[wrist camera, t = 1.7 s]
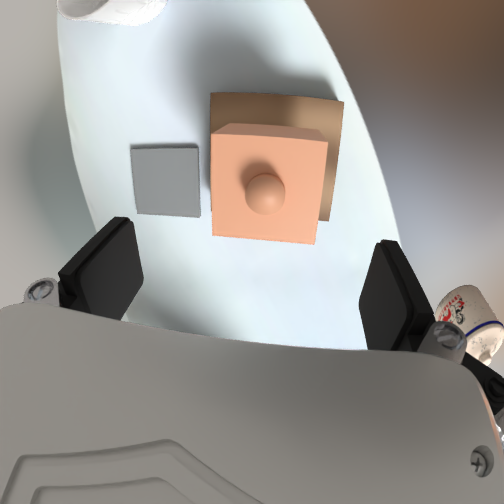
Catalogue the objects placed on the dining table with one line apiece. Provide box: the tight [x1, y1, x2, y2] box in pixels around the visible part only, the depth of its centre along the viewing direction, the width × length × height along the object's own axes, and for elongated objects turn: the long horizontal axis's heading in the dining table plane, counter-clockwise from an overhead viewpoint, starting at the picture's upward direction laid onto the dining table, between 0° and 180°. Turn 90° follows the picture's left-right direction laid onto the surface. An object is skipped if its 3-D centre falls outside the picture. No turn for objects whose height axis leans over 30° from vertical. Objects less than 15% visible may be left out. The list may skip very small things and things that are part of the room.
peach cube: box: [211, 123, 328, 245], centre depth 20 cm, size 7×7×7 cm
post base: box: [210, 92, 344, 221], centre depth 24 cm, size 12×12×11 cm
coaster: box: [131, 148, 201, 218], centre depth 32 cm, size 8×8×1 cm
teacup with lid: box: [435, 285, 504, 366], centre depth 32 cm, size 12×9×12 cm
